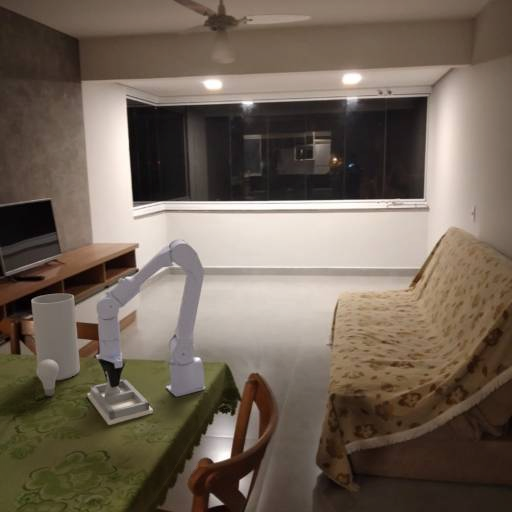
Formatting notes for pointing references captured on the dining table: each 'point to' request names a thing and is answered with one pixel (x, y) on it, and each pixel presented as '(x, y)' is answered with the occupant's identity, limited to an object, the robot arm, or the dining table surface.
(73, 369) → the cylinder vase
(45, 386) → the lightbulb
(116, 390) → the rook chess piece
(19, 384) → the dining table surface
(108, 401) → the pocket tray
